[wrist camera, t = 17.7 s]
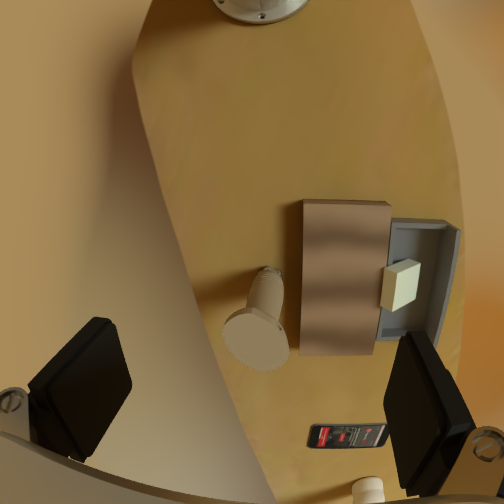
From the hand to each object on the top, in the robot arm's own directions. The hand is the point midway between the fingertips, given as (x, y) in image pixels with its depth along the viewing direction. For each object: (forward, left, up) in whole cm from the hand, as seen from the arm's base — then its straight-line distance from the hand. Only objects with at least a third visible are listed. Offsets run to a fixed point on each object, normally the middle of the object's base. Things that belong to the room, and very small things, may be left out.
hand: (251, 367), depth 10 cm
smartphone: (+42, +13, -31) cm, 53 cm away
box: (+10, +16, -30) cm, 36 cm away
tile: (+10, +14, -28) cm, 33 cm away
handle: (+10, -2, -30) cm, 32 cm away
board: (+10, +7, -30) cm, 32 cm away
